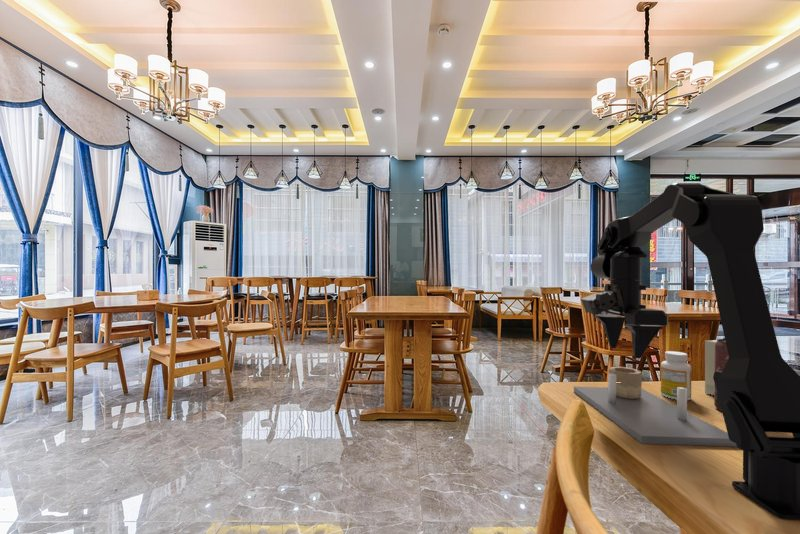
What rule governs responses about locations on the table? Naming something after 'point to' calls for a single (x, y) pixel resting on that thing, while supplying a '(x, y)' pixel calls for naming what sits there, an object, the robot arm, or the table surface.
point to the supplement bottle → (675, 374)
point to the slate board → (654, 417)
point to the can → (720, 363)
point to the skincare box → (709, 366)
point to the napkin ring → (627, 382)
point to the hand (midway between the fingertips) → (624, 352)
